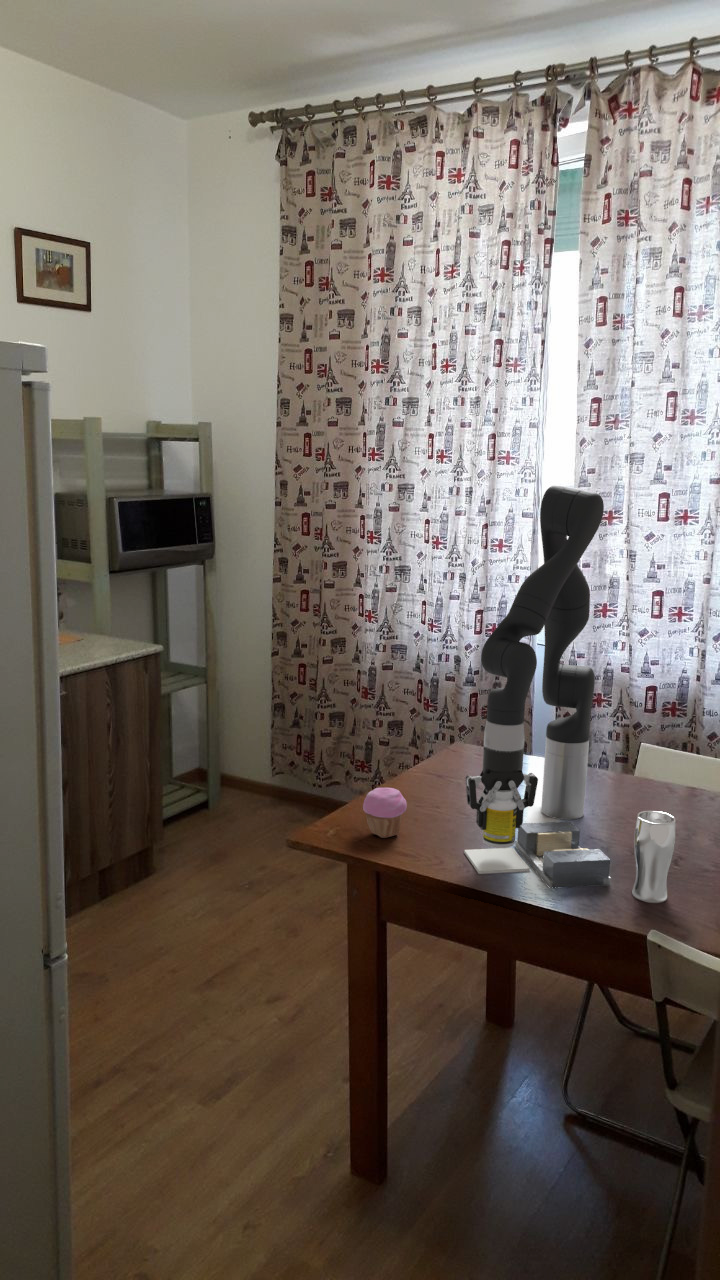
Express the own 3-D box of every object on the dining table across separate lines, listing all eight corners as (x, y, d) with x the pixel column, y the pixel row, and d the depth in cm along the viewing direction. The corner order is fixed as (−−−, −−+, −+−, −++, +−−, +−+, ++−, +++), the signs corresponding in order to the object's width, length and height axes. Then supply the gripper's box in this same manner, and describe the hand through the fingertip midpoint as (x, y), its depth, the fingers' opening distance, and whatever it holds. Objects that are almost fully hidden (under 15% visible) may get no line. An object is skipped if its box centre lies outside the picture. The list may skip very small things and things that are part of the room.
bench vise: (515, 847, 201) (516, 823, 200) (570, 844, 203) (572, 821, 202) (549, 888, 182) (551, 862, 181) (610, 884, 184) (612, 859, 183)
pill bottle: (518, 849, 189) (521, 793, 187) (485, 849, 189) (488, 793, 187) (510, 836, 195) (513, 783, 193) (479, 837, 195) (482, 783, 193)
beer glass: (652, 907, 175) (660, 827, 173) (621, 893, 181) (628, 814, 178) (677, 898, 179) (685, 819, 177) (646, 884, 185) (652, 807, 182)
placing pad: (464, 852, 197) (464, 849, 197) (512, 850, 199) (512, 847, 199) (479, 873, 187) (479, 870, 187) (529, 871, 189) (529, 868, 189)
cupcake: (413, 835, 205) (415, 789, 203) (384, 846, 199) (385, 799, 197) (382, 823, 211) (384, 778, 209) (353, 833, 205) (354, 787, 203)
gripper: (533, 737, 193) (527, 819, 197) (461, 739, 191) (457, 822, 194) (547, 748, 186) (541, 833, 189) (473, 750, 184) (468, 836, 187)
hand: (499, 827), depth 192 cm, fingers closed on pill bottle, 6 cm apart
